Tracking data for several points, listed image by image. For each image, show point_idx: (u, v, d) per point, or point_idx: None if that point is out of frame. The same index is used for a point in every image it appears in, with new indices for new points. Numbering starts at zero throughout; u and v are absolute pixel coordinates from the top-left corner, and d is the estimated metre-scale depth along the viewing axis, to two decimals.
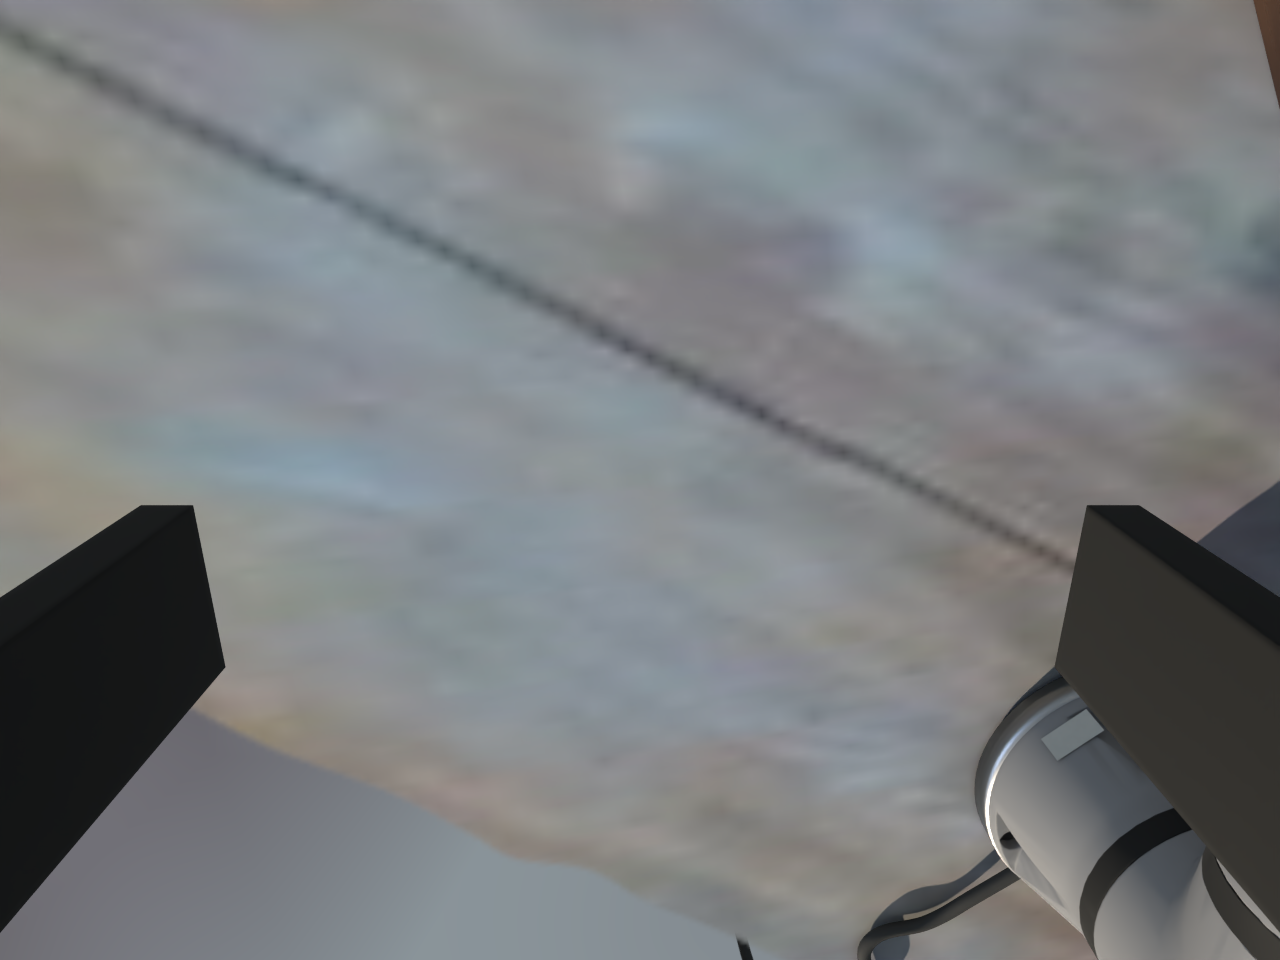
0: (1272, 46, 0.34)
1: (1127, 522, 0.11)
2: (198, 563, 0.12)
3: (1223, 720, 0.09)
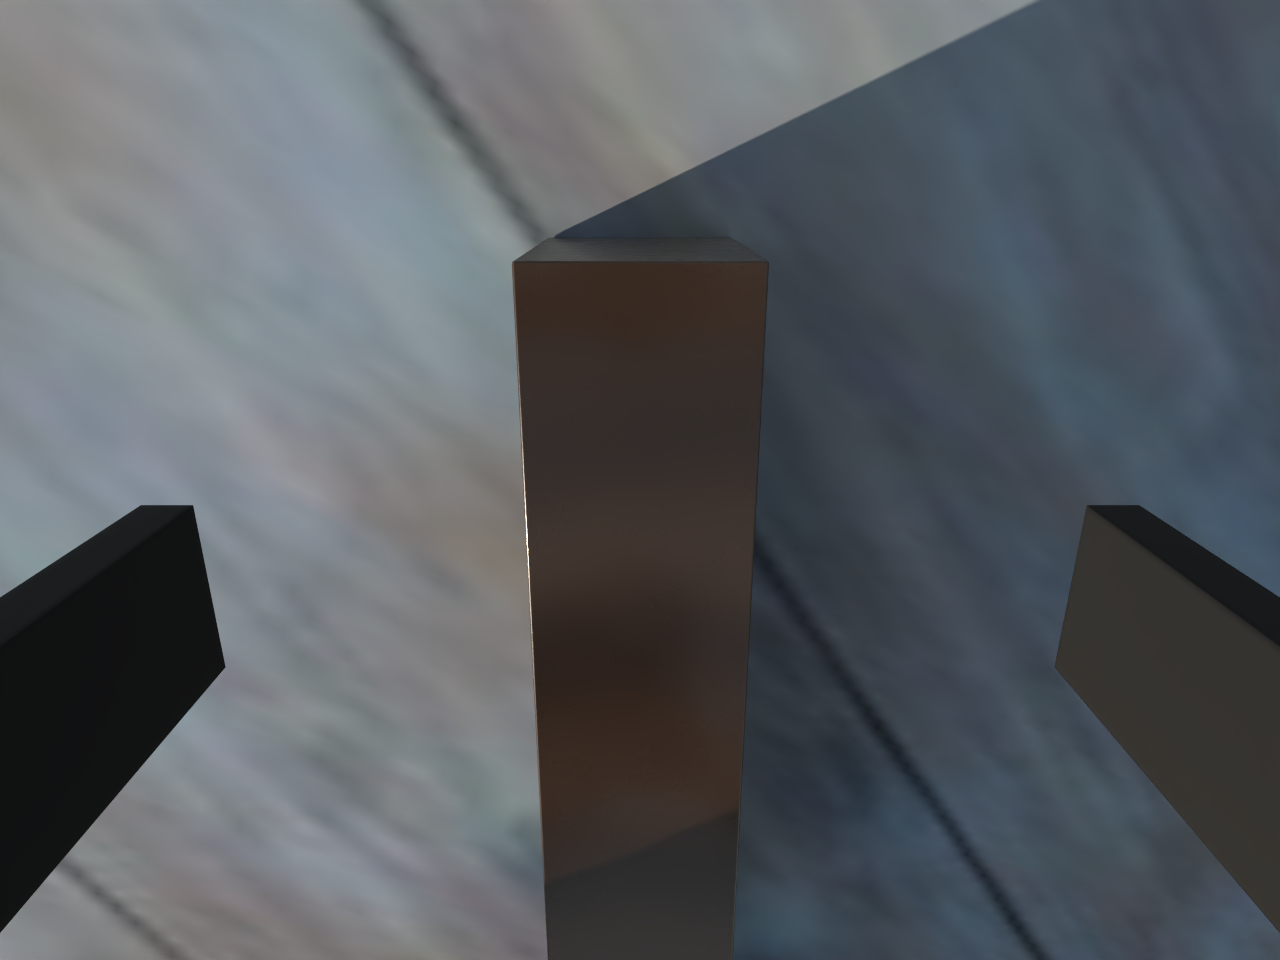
0: None
1: (1127, 522, 0.11)
2: (198, 563, 0.12)
3: (1223, 720, 0.09)
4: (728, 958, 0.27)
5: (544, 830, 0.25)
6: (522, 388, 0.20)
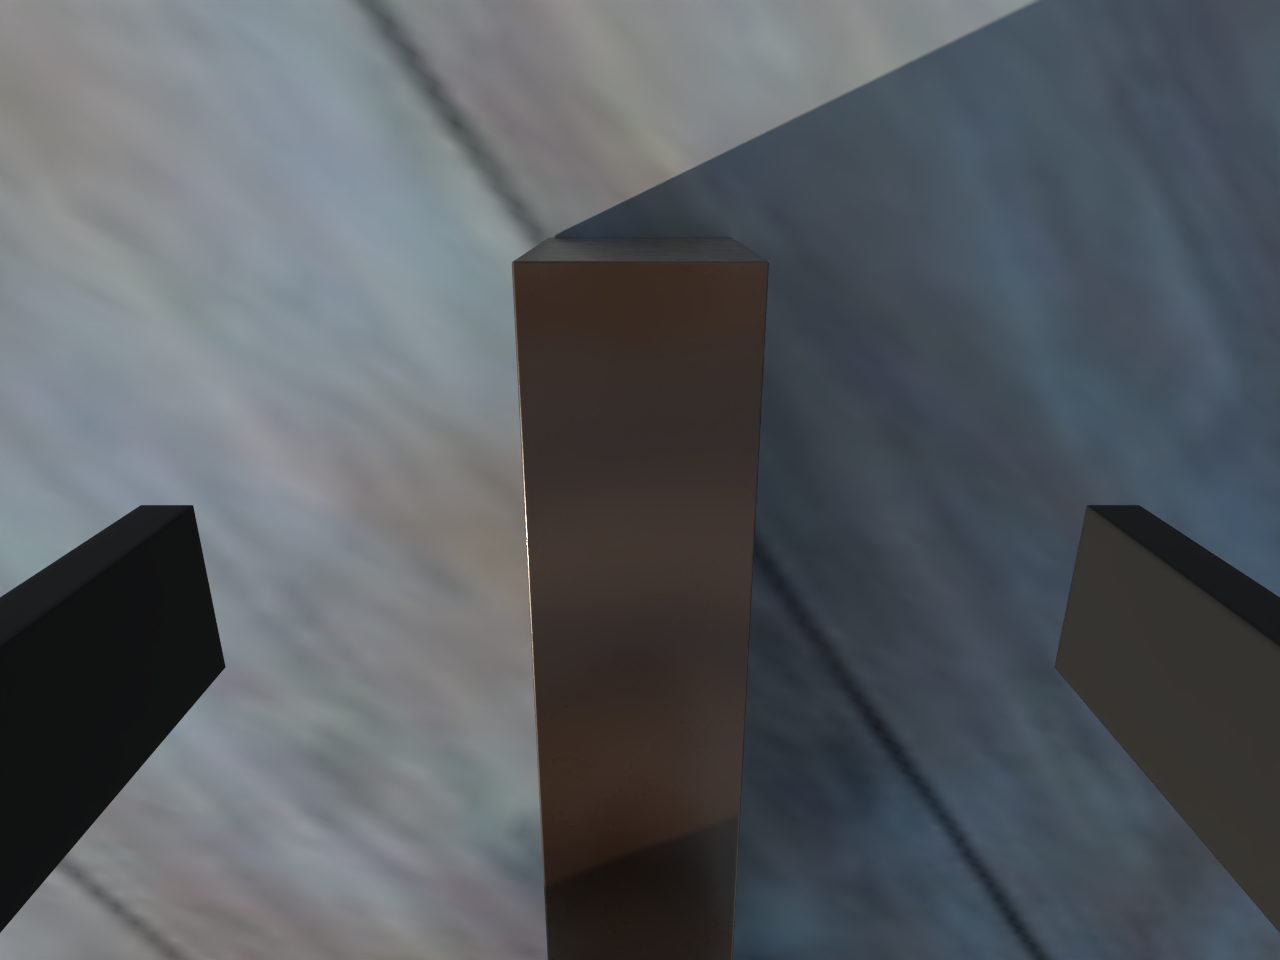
0: None
1: (1127, 522, 0.11)
2: (198, 563, 0.12)
3: (1223, 720, 0.09)
4: (728, 958, 0.27)
5: (544, 830, 0.25)
6: (522, 388, 0.20)
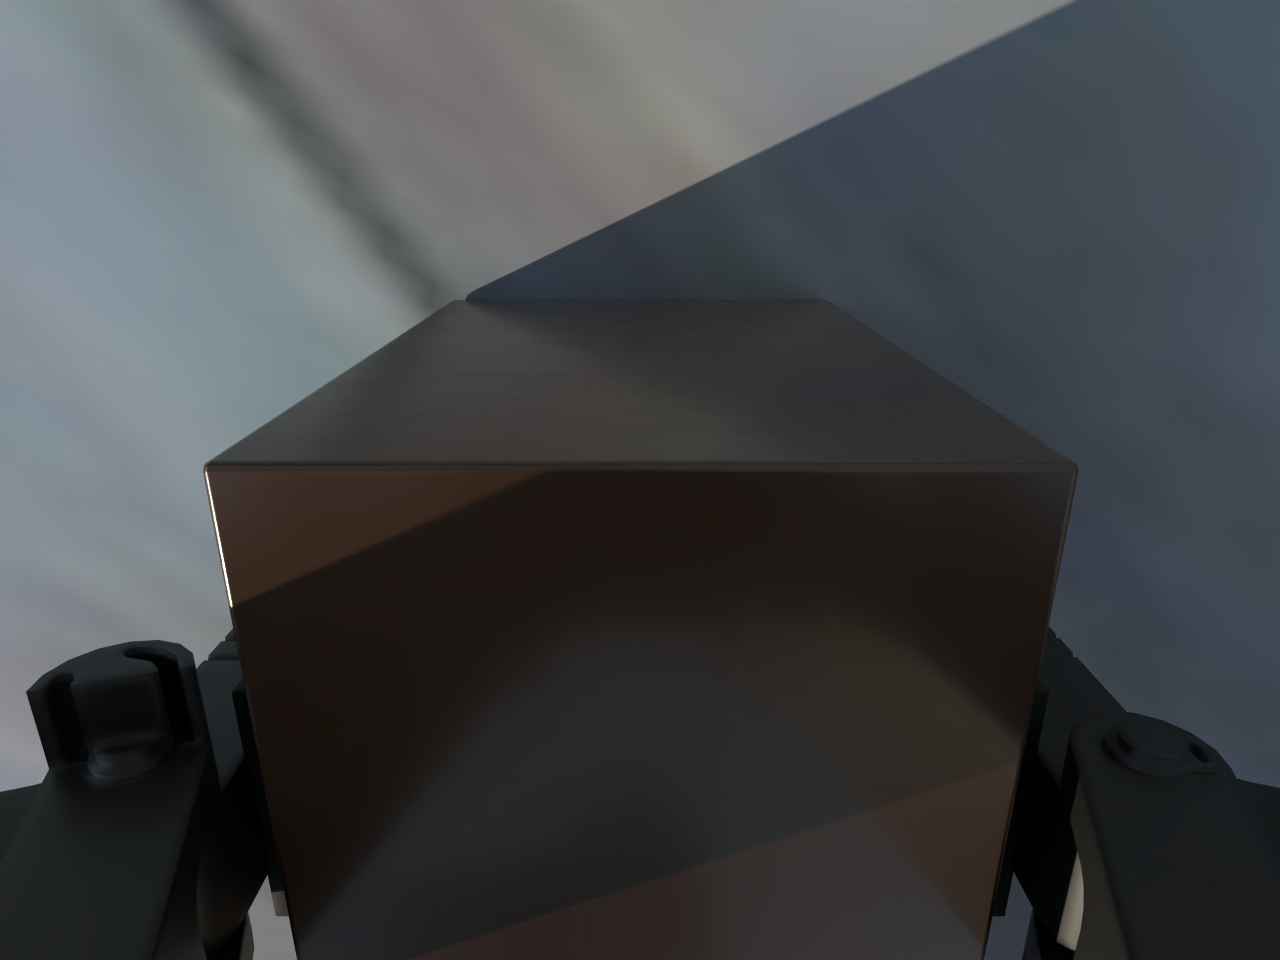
0: None
1: None
2: None
3: None
4: None
5: None
6: (281, 821, 0.07)
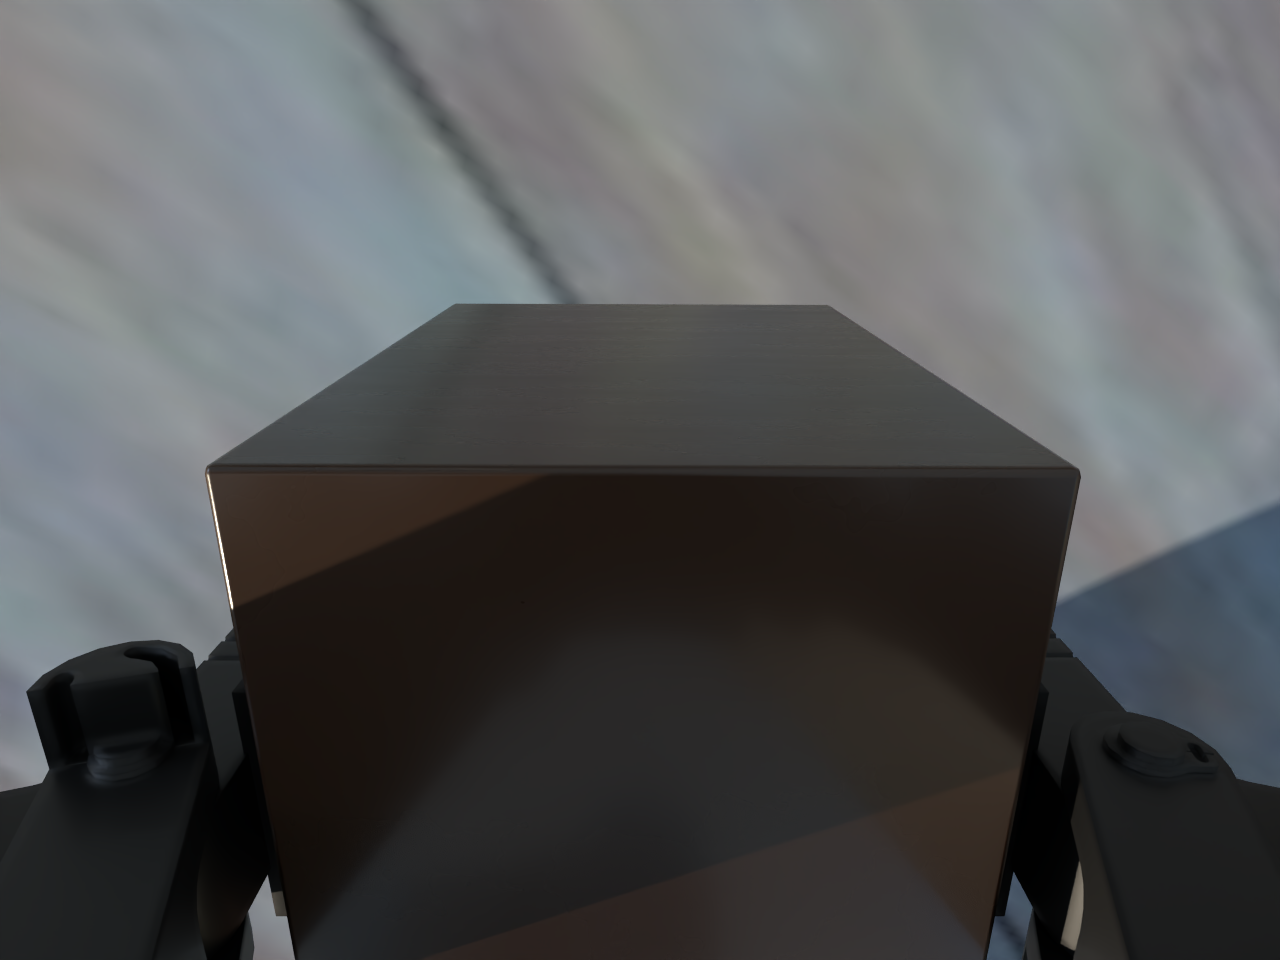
0: None
1: None
2: None
3: None
4: None
5: None
6: (280, 824, 0.07)
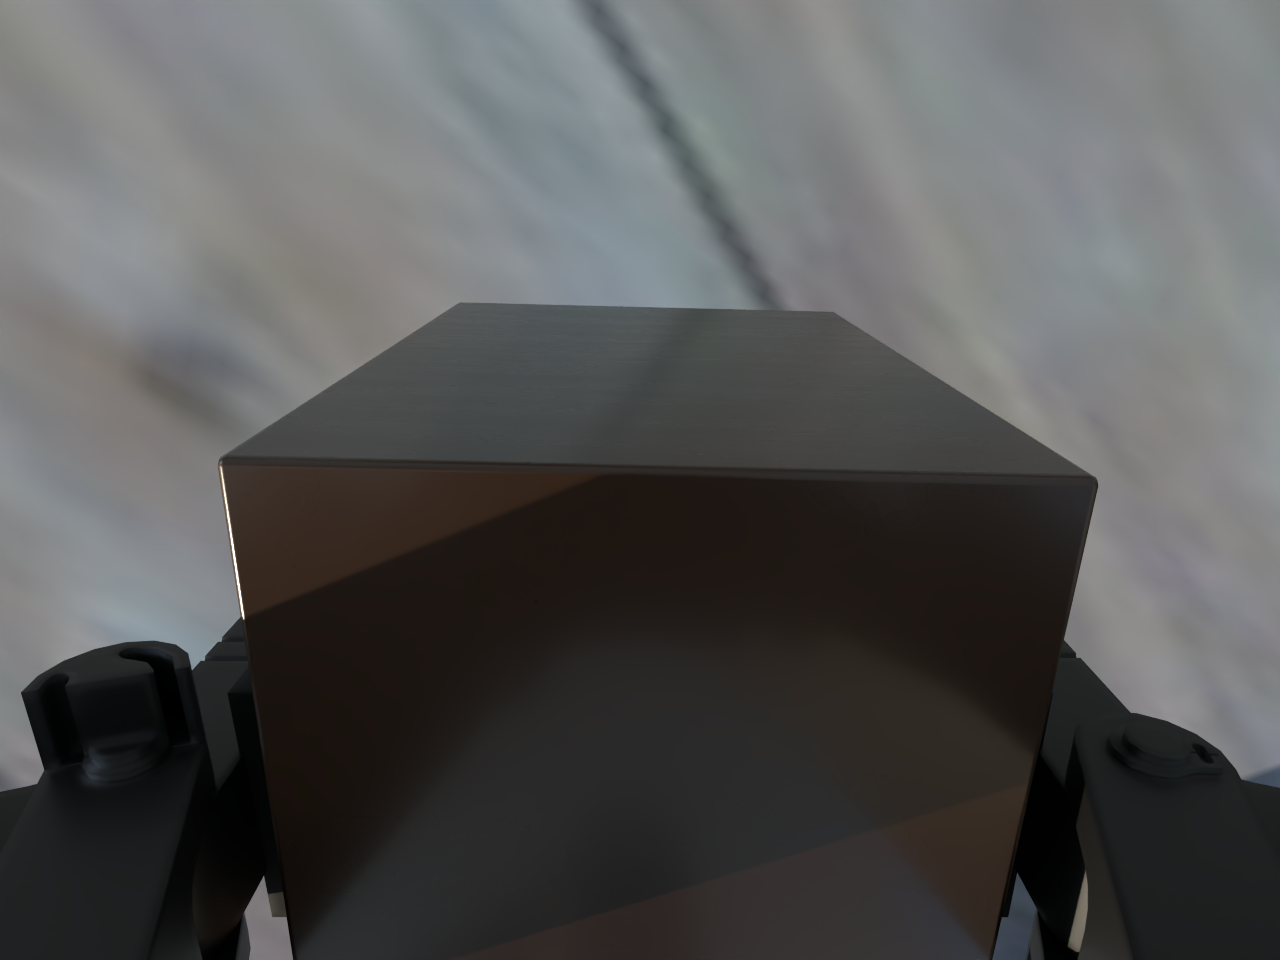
0: None
1: None
2: None
3: None
4: None
5: None
6: (284, 821, 0.07)
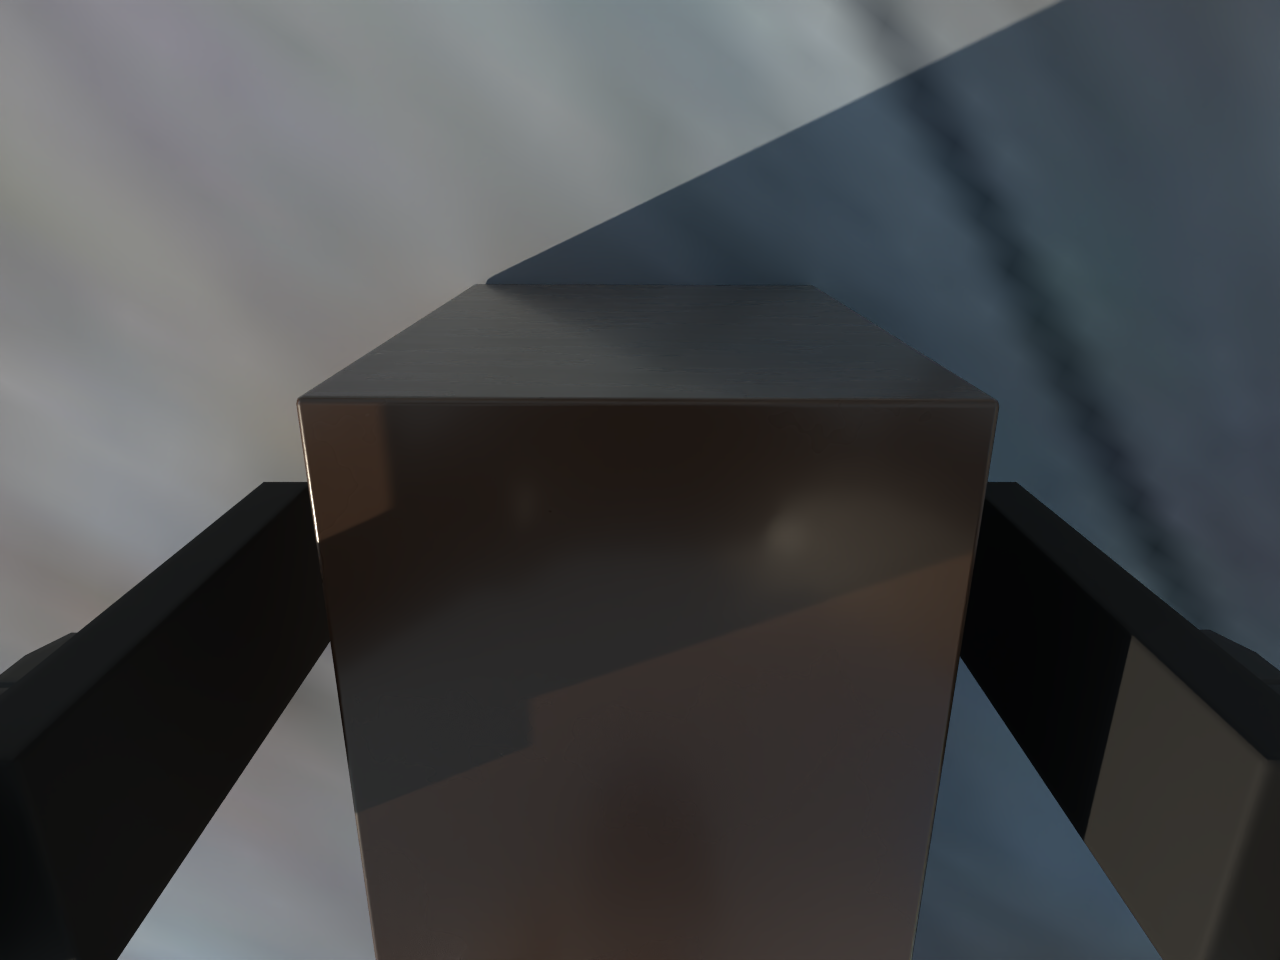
0: None
1: (1000, 496, 0.12)
2: None
3: (1059, 671, 0.10)
4: None
5: None
6: (348, 701, 0.08)
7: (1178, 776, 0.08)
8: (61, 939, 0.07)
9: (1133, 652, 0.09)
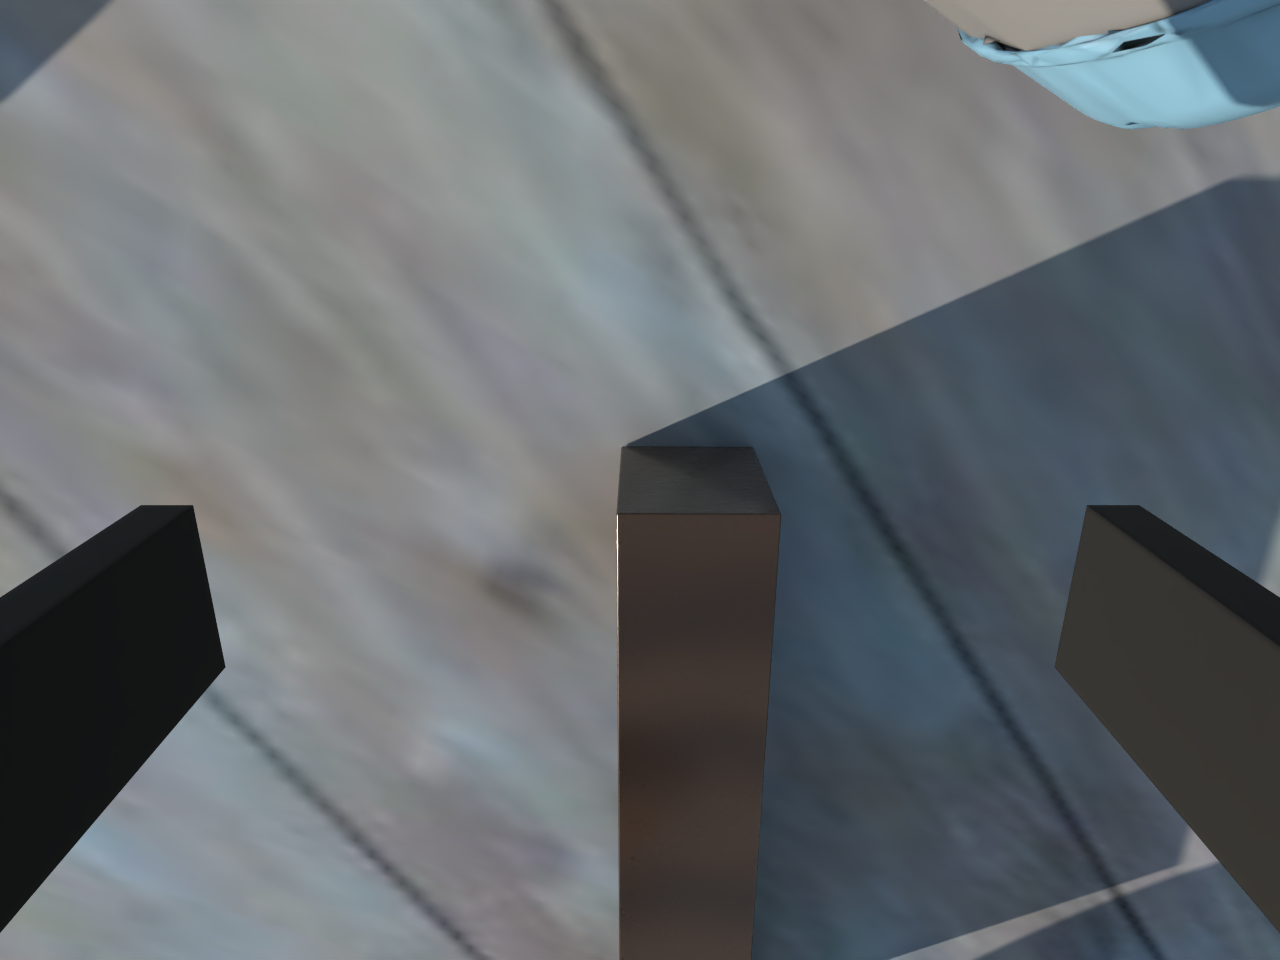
0: None
1: (1127, 522, 0.11)
2: (198, 563, 0.12)
3: (1223, 720, 0.09)
4: (748, 959, 0.38)
5: (621, 870, 0.36)
6: (620, 587, 0.31)
7: None
8: None
9: None
